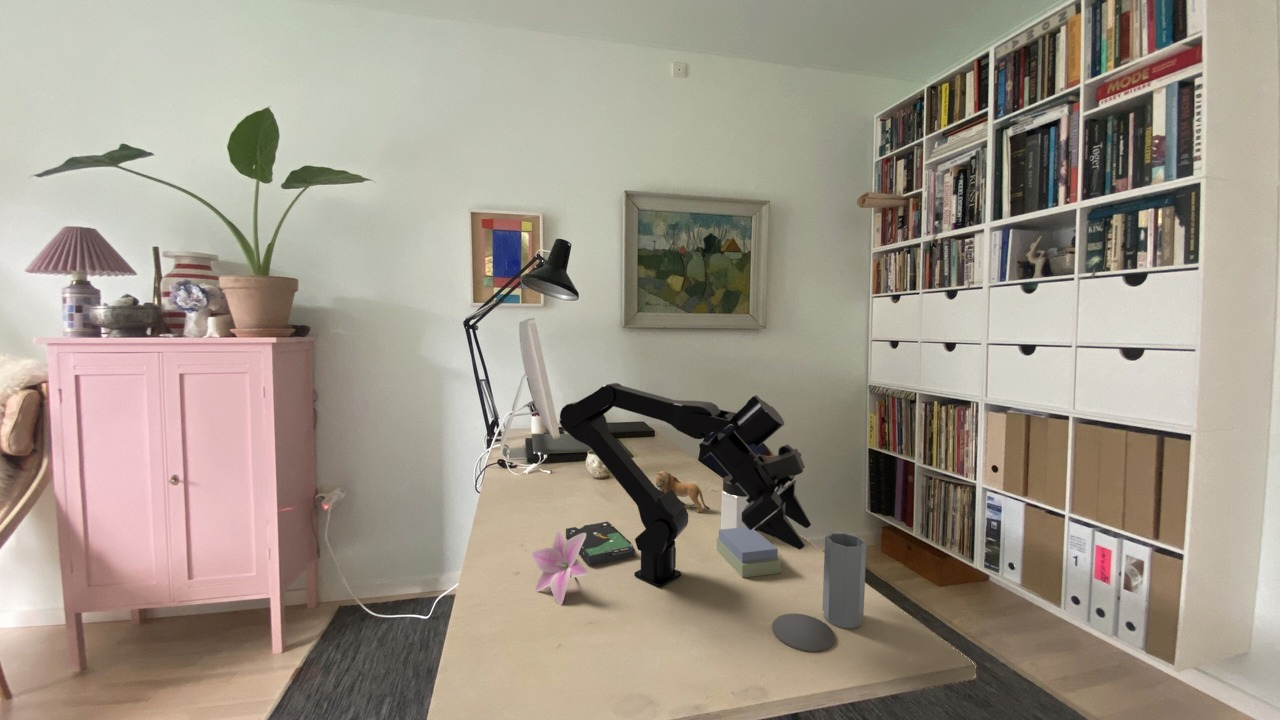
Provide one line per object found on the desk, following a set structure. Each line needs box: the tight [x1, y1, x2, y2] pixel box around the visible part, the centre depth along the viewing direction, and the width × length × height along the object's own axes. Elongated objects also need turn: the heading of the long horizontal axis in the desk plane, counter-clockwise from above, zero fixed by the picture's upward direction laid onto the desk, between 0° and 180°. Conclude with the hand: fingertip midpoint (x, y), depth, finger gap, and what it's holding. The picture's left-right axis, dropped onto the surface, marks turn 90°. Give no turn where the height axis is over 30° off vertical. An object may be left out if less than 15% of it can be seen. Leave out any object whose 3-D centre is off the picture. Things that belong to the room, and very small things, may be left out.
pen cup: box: [821, 532, 867, 630], centre depth 79 cm, size 6×6×13 cm
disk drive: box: [565, 521, 636, 567], centre depth 105 cm, size 10×3×15 cm
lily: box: [529, 529, 589, 606], centre depth 89 cm, size 12×12×10 cm
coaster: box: [771, 613, 835, 653], centre depth 76 cm, size 9×9×1 cm
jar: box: [720, 474, 755, 530], centre depth 114 cm, size 9×8×12 cm
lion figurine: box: [654, 470, 711, 514], centre depth 129 cm, size 15×5×9 cm, turn 71°
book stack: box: [716, 527, 782, 579], centre depth 99 cm, size 12×8×4 cm, turn 14°
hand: (805, 536), depth 81 cm, fingers open, 9 cm apart
